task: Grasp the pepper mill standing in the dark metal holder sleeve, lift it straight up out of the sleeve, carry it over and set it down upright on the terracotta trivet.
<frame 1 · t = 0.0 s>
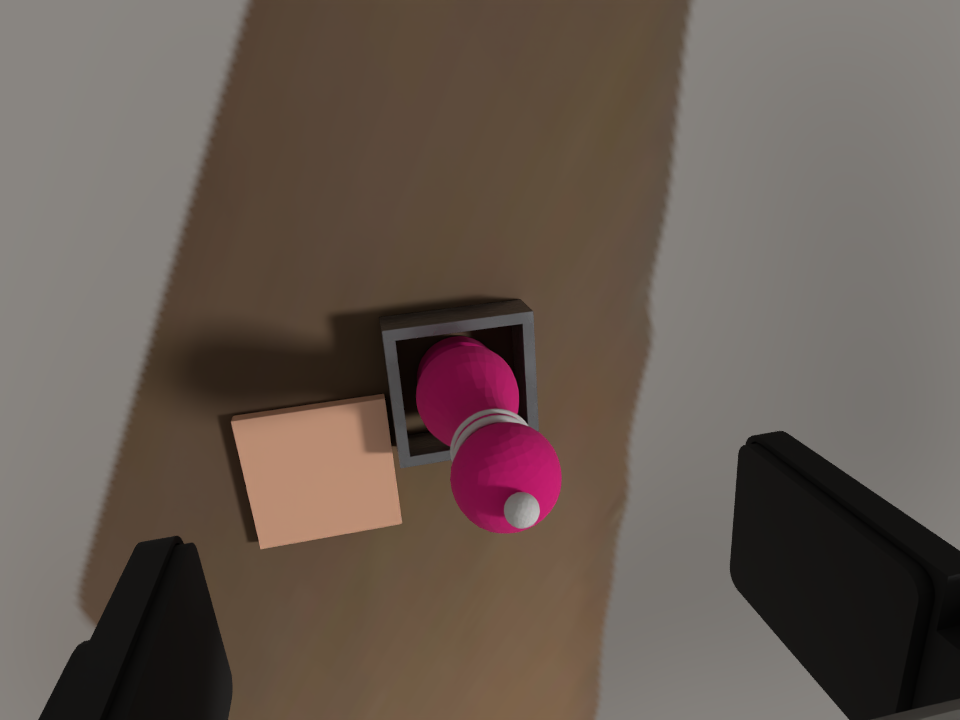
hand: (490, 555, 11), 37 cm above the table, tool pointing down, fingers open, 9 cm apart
trivet: (321, 469, 50), on the table
holder sleeve: (457, 374, 50), on the table
pepper mill: (456, 373, 50), resting in holder sleeve
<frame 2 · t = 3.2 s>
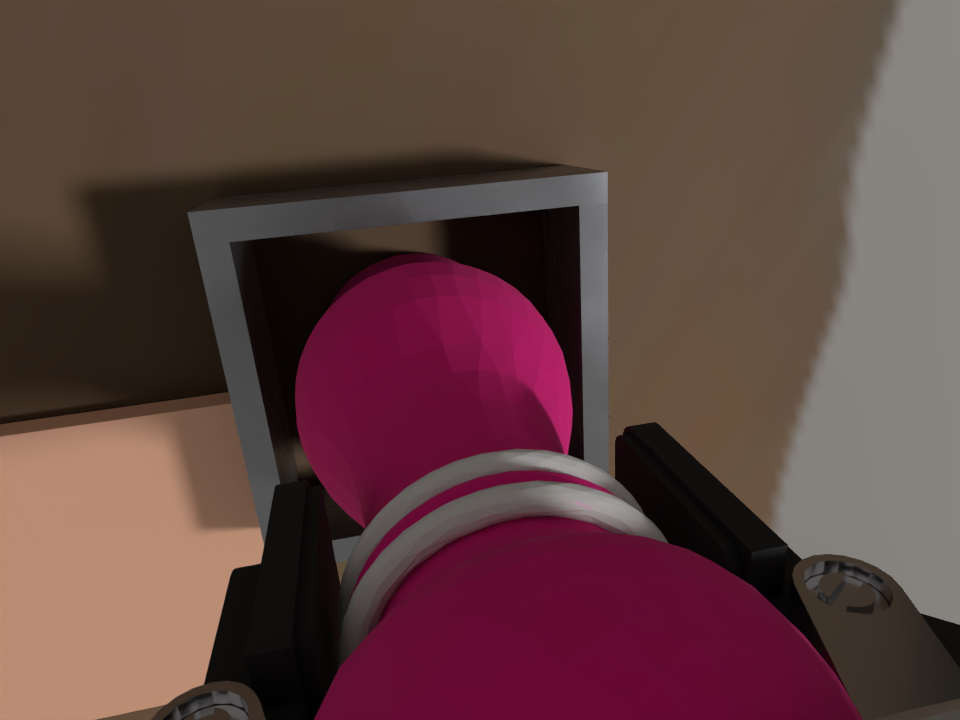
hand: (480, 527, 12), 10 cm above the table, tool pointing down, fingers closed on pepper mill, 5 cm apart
trivet: (105, 564, 22), on the table
holder sleeve: (416, 345, 21), on the table
pepper mill: (415, 344, 22), resting in holder sleeve, touching gripper
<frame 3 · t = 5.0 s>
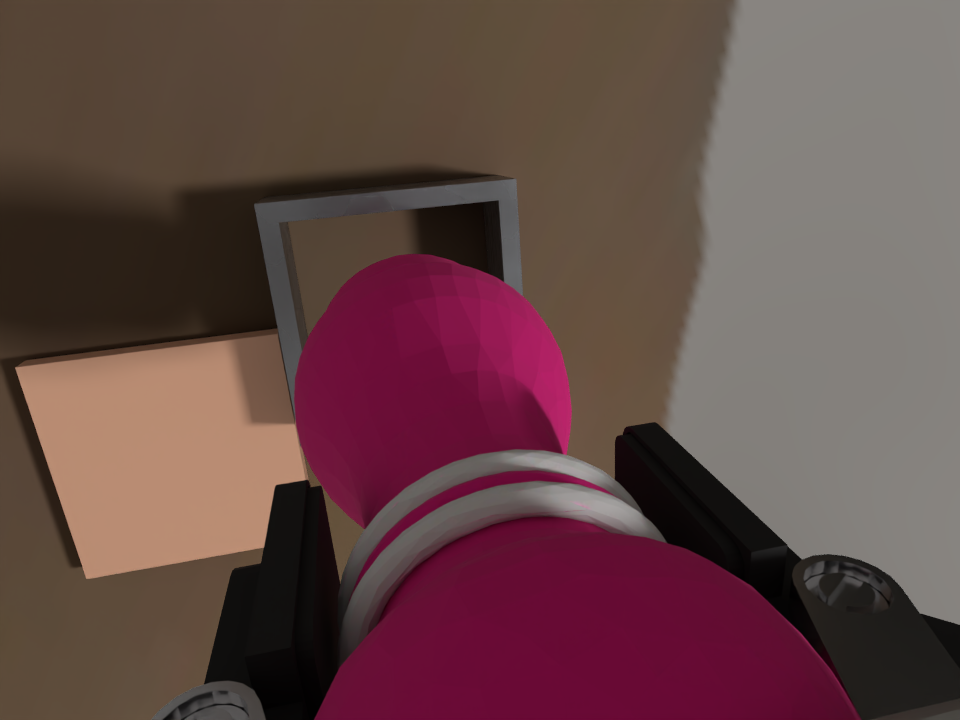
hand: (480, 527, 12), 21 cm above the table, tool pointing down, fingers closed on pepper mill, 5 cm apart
trivet: (184, 450, 31), on the table
holder sleeve: (398, 298, 31), on the table
pepper mill: (414, 344, 22), point 10 cm above the table, touching gripper
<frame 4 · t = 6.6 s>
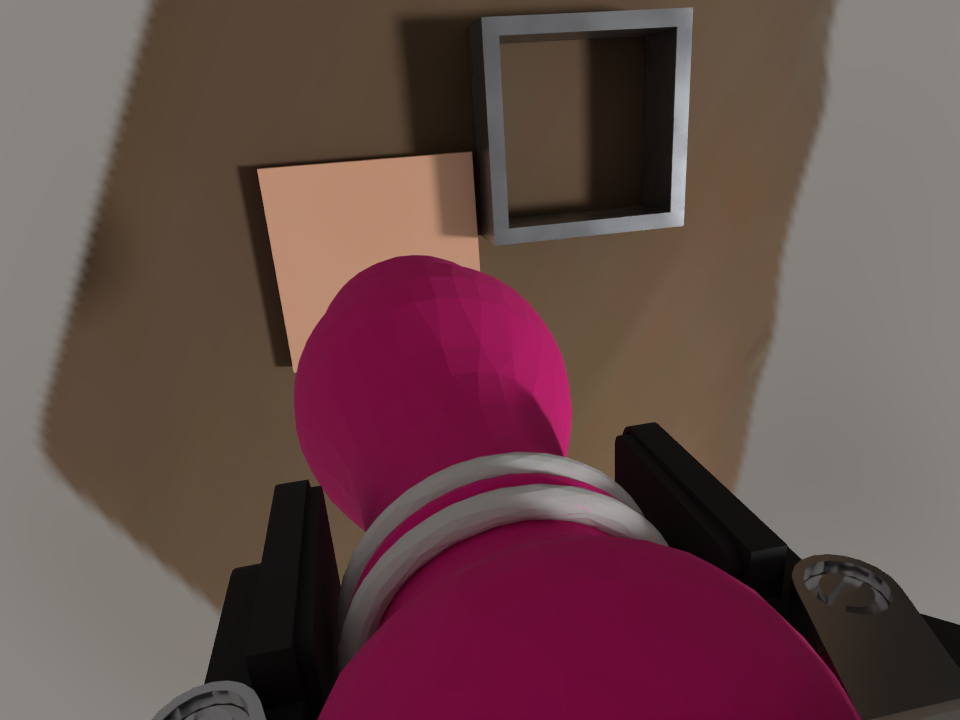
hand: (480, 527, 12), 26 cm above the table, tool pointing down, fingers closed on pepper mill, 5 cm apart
trivet: (379, 262, 36), on the table
holder sleeve: (568, 130, 36), on the table
pepper mill: (414, 346, 22), point 16 cm above the table, touching gripper
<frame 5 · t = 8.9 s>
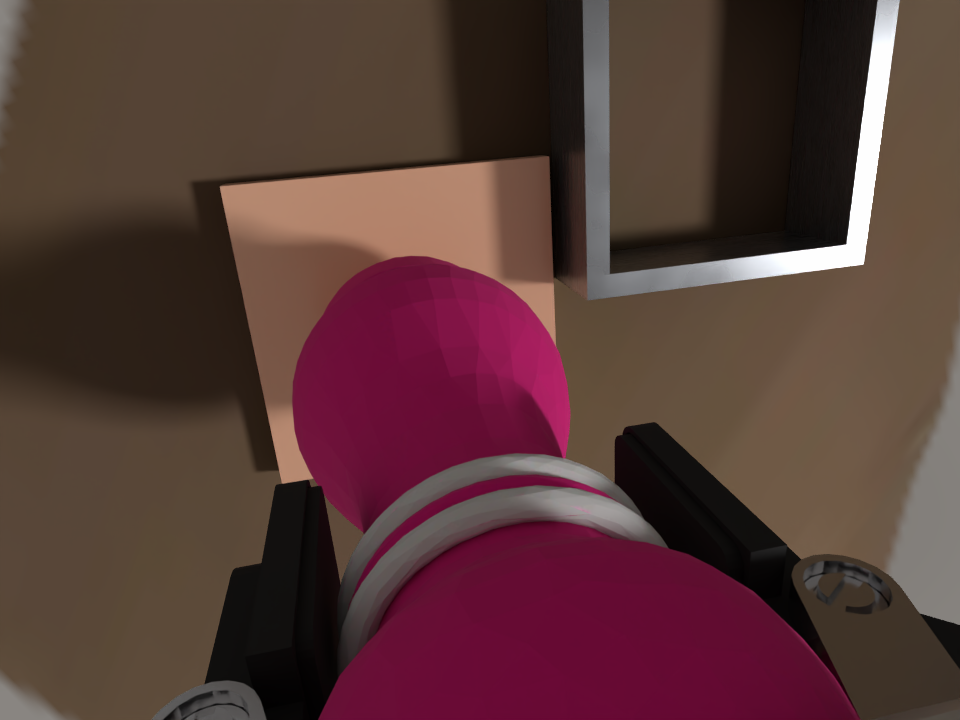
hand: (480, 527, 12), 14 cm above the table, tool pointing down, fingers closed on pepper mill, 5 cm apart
trivet: (407, 319, 24), on the table
holder sleeve: (687, 122, 24), on the table
pepper mill: (412, 346, 22), point 3 cm above the table, touching gripper
when the fingers open (13 cm above the table, at t = 10.0 s): pepper mill drops 1 cm, resting on trivet.
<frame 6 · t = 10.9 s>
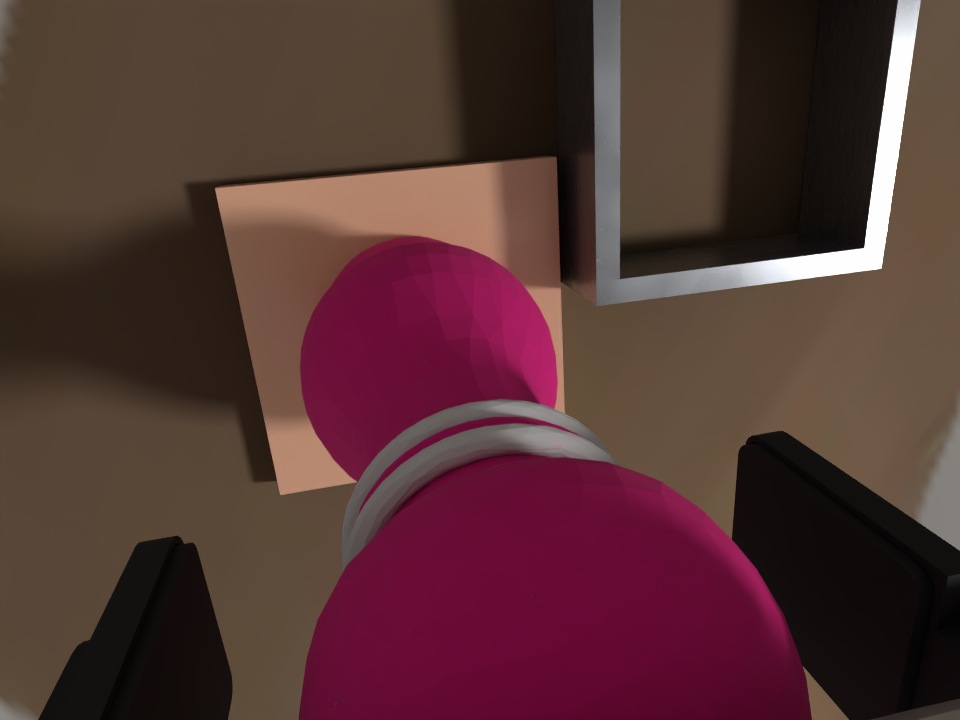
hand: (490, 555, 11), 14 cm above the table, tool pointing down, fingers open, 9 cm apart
trivet: (409, 325, 24), on the table
holder sleeve: (698, 121, 23), on the table
pepper mill: (412, 323, 23), point 1 cm above the table, touching trivet
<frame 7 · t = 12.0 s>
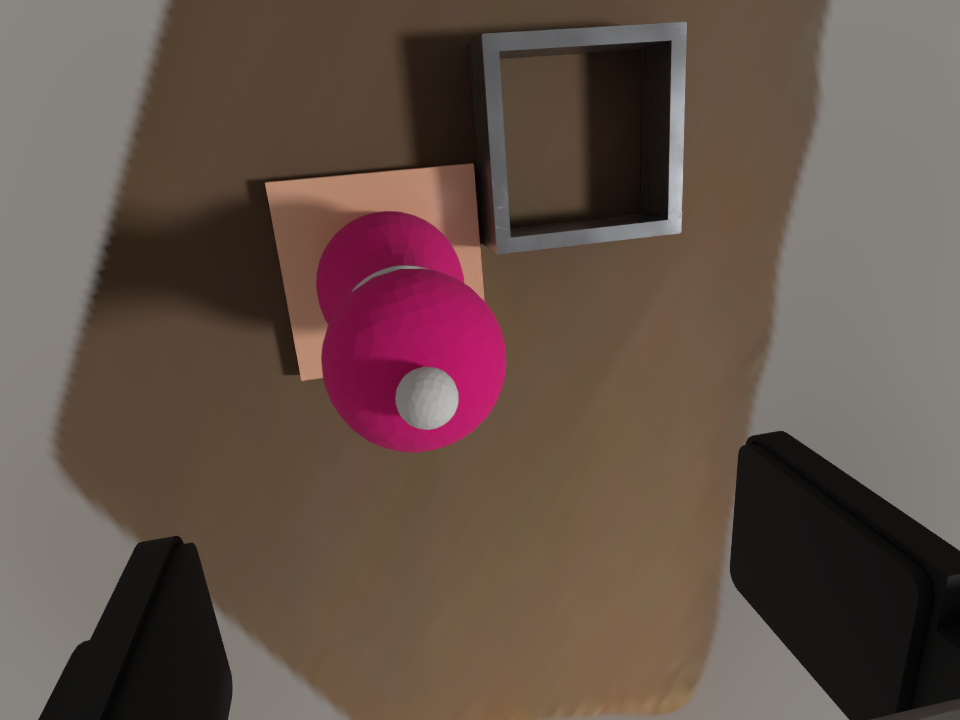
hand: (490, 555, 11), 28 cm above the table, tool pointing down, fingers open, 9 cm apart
trivet: (384, 271, 37), on the table
holder sleeve: (567, 141, 37), on the table
pepper mill: (385, 268, 36), point 1 cm above the table, touching trivet
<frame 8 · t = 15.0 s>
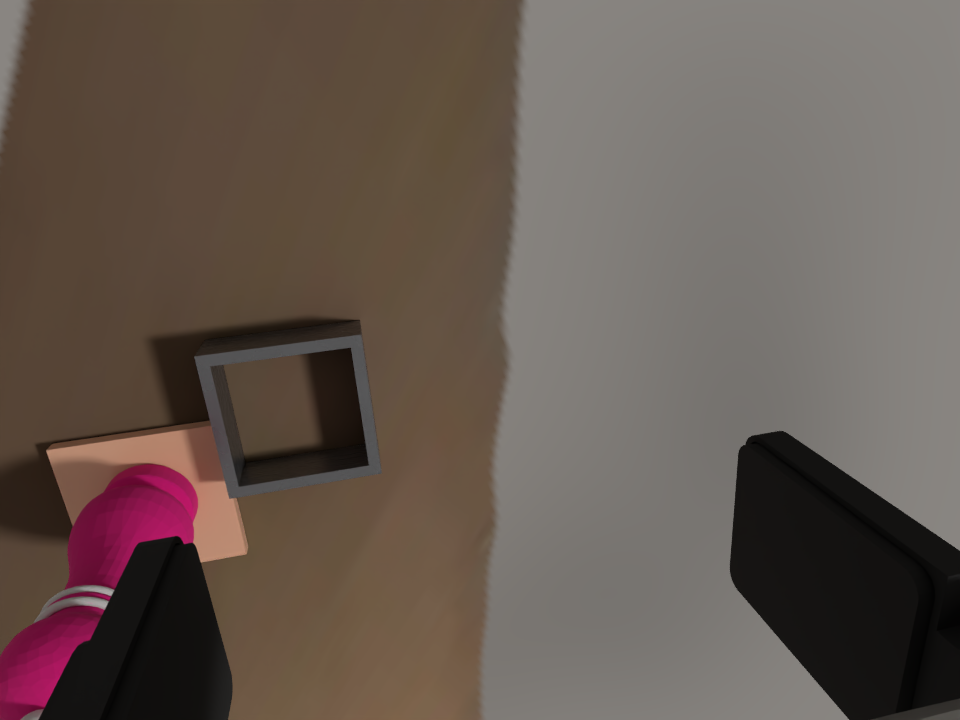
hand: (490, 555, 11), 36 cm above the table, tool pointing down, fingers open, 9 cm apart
trivet: (156, 498, 48), on the table
holder sleeve: (296, 398, 47), on the table
pepper mill: (153, 500, 47), point 1 cm above the table, touching trivet
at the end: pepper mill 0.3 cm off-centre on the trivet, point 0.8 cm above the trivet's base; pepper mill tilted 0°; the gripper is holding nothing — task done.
